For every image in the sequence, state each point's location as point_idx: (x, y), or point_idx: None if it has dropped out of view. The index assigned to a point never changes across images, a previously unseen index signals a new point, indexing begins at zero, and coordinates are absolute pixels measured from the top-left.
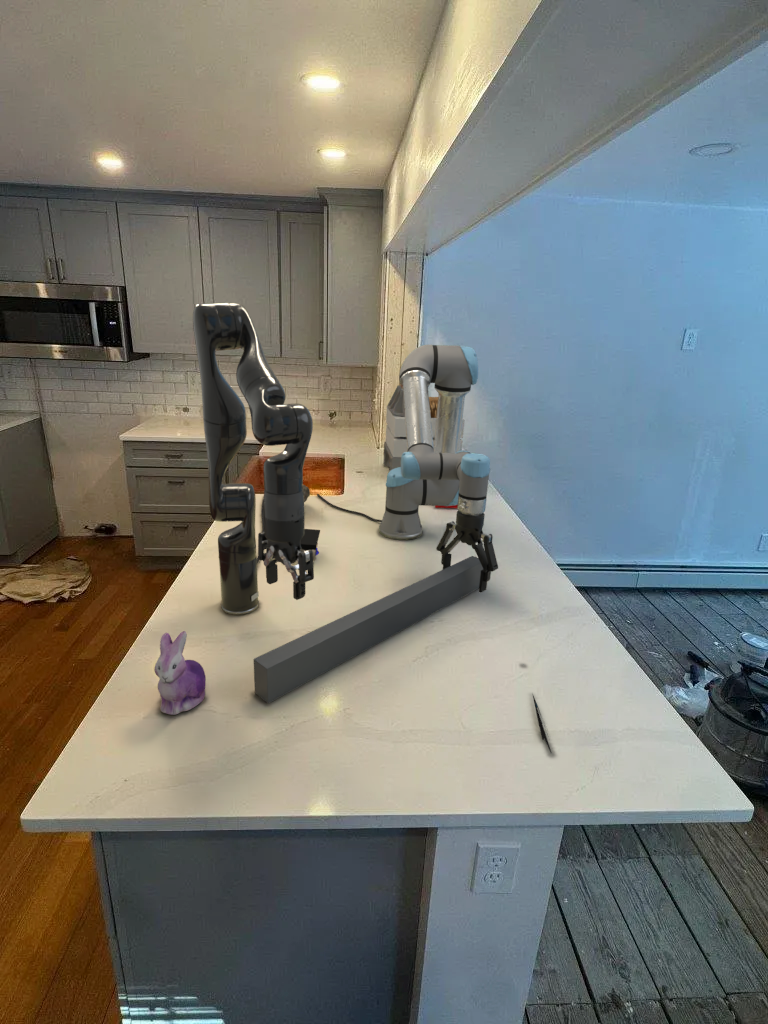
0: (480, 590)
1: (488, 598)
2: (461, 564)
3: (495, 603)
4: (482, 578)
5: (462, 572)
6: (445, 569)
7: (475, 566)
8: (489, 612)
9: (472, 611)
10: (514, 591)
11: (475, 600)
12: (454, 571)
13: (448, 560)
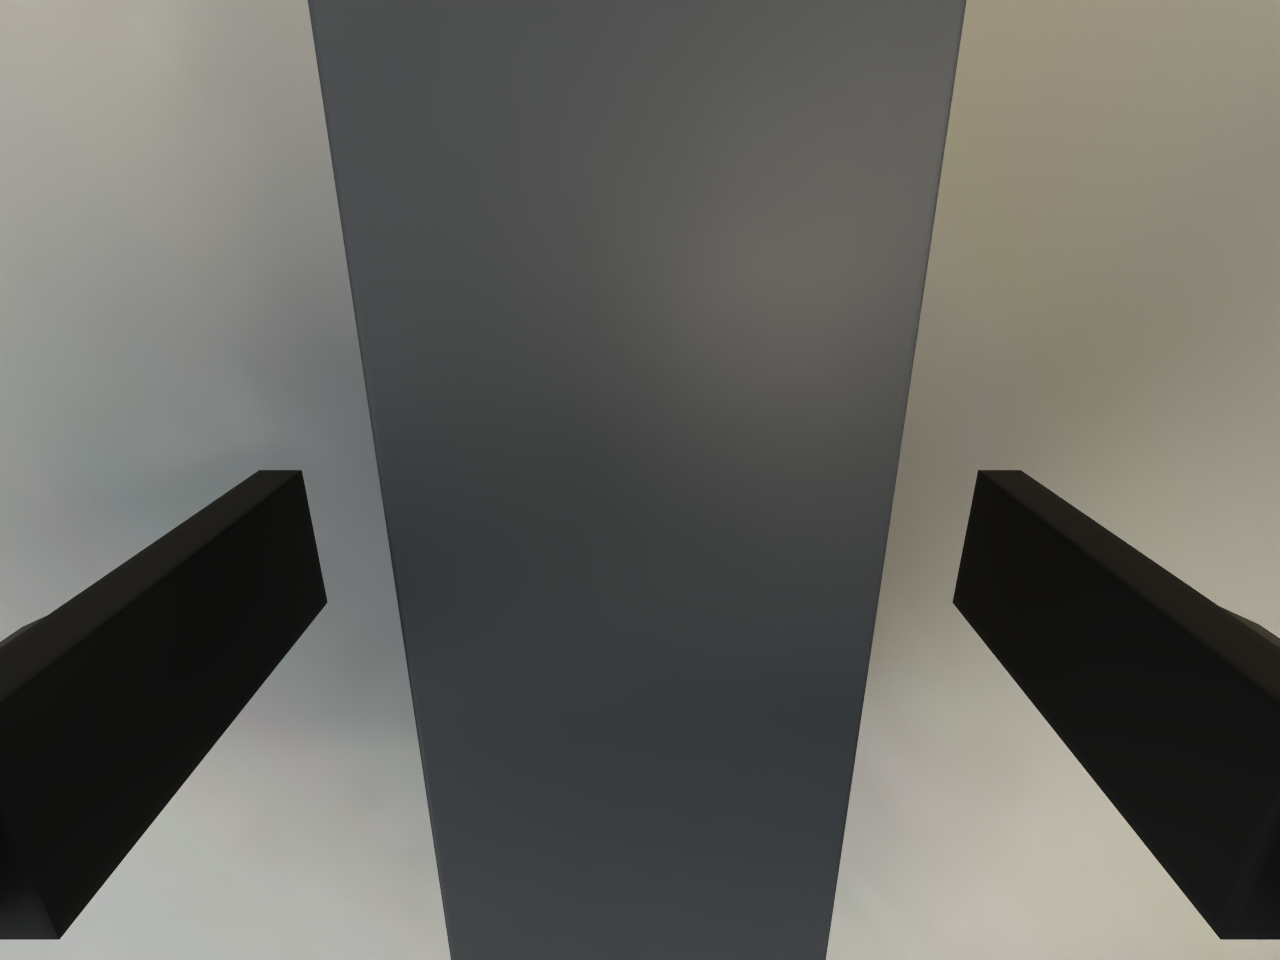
0: (248, 482)
1: None
2: (716, 715)
3: (164, 513)
4: (69, 603)
5: (363, 341)
6: (896, 3)
7: (442, 864)
8: (8, 255)
9: (144, 79)
10: (264, 851)
11: (360, 393)
12: (551, 148)
13: (1146, 731)
